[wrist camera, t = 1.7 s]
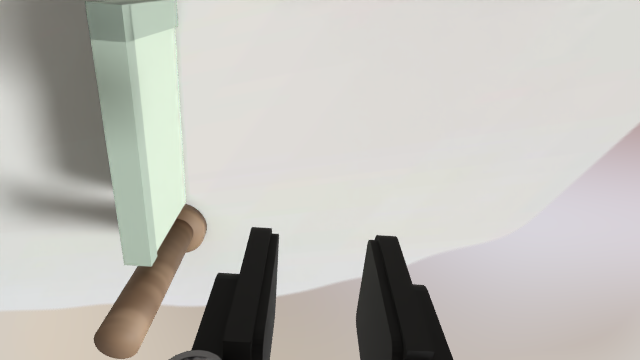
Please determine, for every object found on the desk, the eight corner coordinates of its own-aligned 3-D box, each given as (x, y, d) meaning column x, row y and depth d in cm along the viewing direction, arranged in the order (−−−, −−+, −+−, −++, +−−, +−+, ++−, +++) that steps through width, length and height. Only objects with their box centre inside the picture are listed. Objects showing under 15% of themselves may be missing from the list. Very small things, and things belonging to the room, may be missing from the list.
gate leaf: (188, 202, 32) (151, 266, 24) (167, 200, 31) (124, 264, 24) (176, -1, 25) (121, 5, 18) (150, -4, 25) (84, 1, 18)
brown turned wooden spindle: (205, 205, 32) (151, 317, 21) (207, 247, 34) (157, 370, 23) (154, 201, 32) (72, 312, 21) (158, 244, 34) (85, 367, 23)
